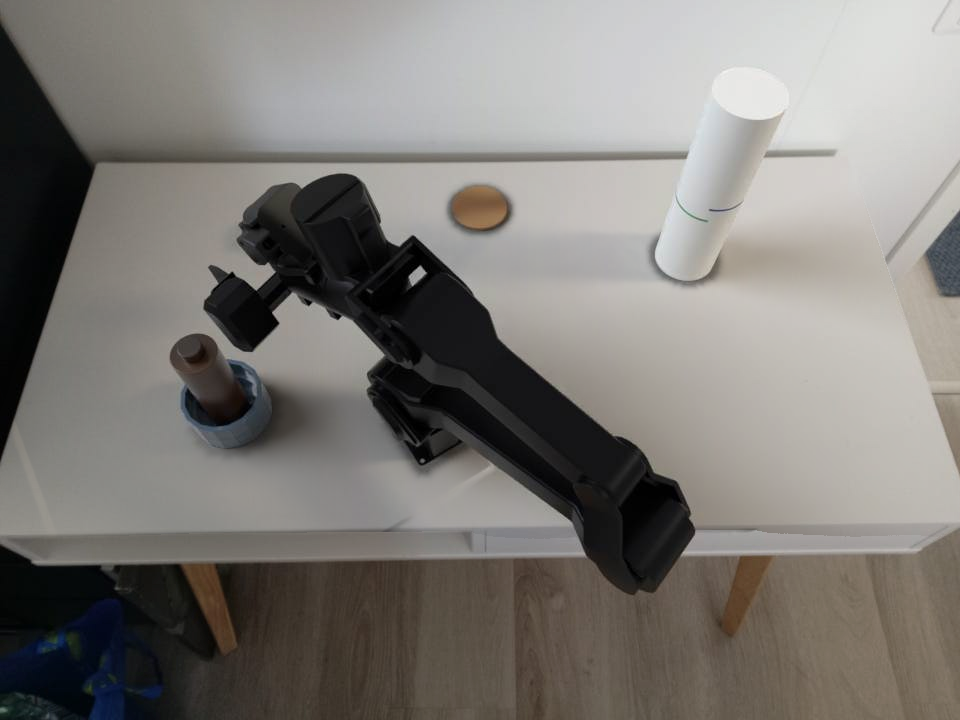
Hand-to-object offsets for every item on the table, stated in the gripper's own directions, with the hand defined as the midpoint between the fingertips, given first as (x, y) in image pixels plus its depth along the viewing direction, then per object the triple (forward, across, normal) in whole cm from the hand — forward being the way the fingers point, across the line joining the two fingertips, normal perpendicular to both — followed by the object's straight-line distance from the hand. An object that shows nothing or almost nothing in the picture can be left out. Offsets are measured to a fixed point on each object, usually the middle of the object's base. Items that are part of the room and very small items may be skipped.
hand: (245, 238), depth 72 cm
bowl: (0, +12, +15) cm, 20 cm away
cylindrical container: (-26, -36, +26) cm, 51 cm away
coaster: (-3, -27, +18) cm, 32 cm away
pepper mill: (0, +12, +15) cm, 19 cm away
